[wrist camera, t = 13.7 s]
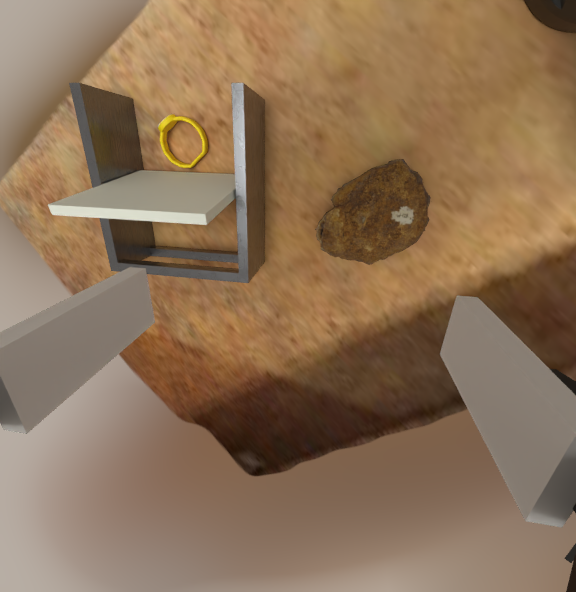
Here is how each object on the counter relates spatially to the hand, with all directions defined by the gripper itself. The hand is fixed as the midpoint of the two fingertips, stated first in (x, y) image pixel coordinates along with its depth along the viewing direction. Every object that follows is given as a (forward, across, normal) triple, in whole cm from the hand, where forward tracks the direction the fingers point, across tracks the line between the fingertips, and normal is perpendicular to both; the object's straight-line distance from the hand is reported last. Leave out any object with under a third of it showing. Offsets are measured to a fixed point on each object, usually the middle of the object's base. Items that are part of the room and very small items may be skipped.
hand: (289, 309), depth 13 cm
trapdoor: (+23, +18, -2) cm, 29 cm away
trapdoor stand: (+32, +18, -2) cm, 37 cm away
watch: (+31, +17, -5) cm, 36 cm away
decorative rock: (+32, -6, +1) cm, 33 cm away
